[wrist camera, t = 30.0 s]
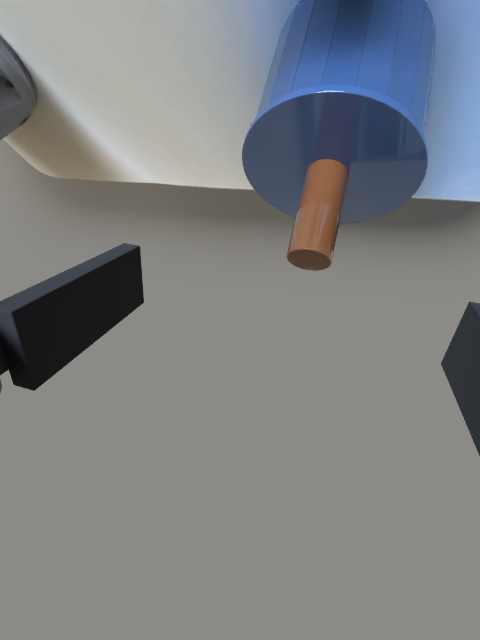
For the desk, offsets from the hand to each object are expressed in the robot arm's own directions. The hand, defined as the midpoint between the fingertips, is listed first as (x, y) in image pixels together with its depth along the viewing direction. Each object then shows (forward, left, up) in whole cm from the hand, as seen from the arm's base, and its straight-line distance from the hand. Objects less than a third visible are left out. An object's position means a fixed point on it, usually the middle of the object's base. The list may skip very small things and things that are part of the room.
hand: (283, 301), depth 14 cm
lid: (+7, -5, -15) cm, 17 cm away
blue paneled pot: (+7, -5, -25) cm, 27 cm away
